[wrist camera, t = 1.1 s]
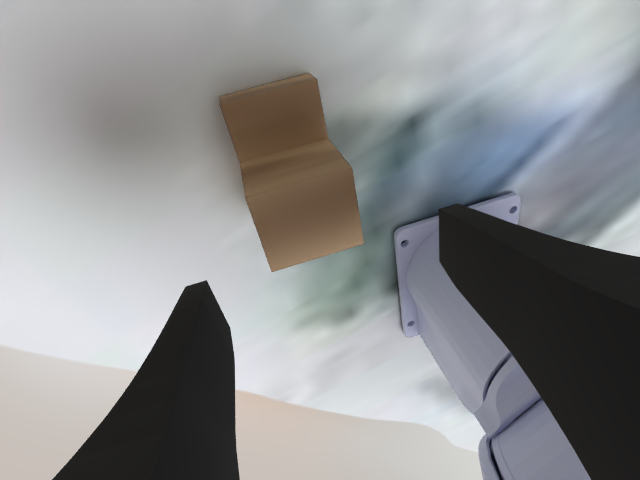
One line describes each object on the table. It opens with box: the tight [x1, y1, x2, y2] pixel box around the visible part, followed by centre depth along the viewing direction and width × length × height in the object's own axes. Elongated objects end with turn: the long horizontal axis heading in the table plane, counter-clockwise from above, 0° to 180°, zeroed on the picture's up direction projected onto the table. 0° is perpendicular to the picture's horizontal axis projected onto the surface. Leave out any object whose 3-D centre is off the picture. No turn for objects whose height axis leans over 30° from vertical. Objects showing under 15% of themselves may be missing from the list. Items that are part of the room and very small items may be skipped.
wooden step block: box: [219, 73, 364, 272], centre depth 16 cm, size 6×4×5 cm, turn 11°
